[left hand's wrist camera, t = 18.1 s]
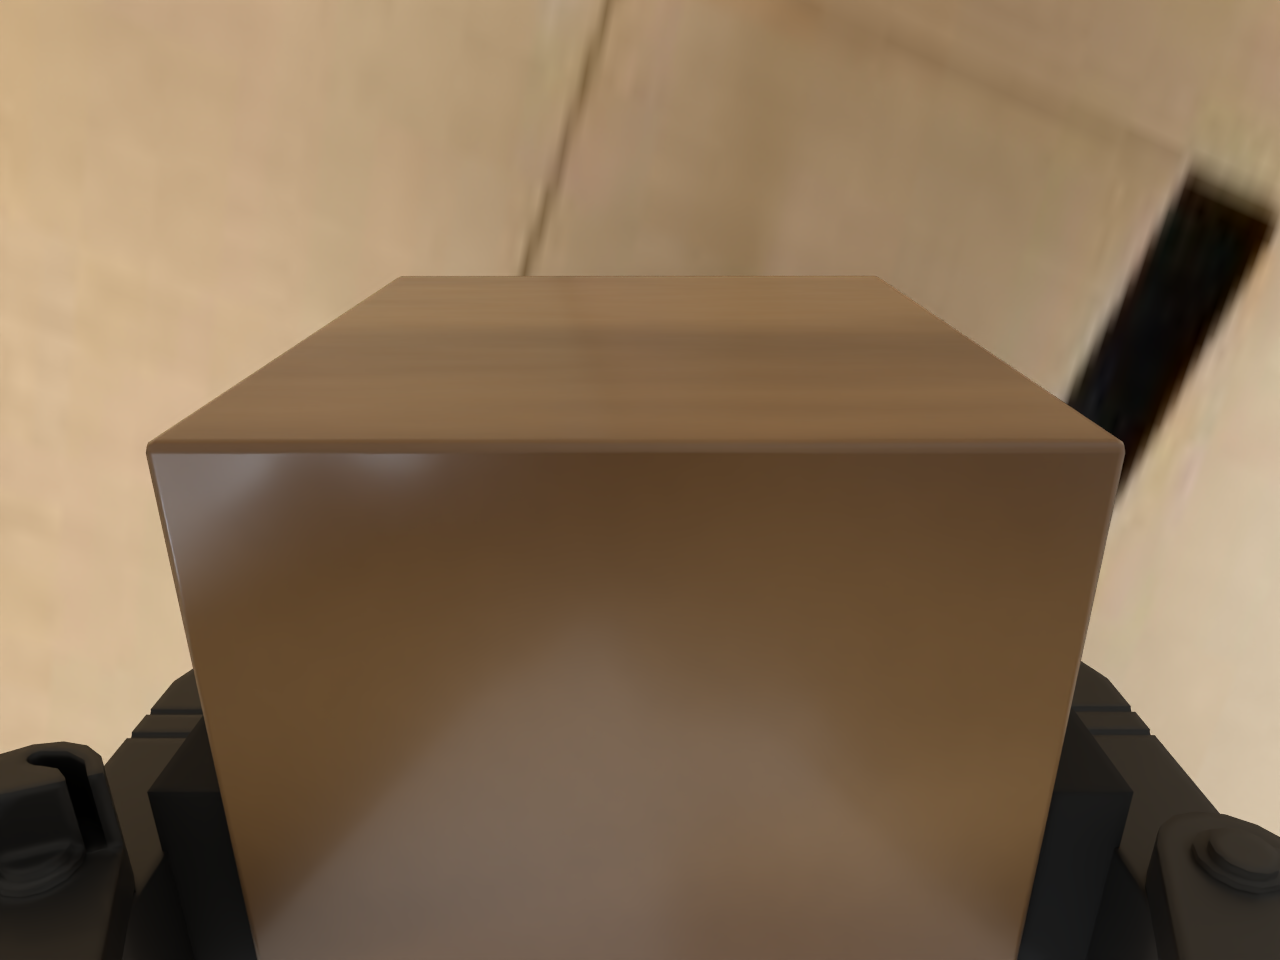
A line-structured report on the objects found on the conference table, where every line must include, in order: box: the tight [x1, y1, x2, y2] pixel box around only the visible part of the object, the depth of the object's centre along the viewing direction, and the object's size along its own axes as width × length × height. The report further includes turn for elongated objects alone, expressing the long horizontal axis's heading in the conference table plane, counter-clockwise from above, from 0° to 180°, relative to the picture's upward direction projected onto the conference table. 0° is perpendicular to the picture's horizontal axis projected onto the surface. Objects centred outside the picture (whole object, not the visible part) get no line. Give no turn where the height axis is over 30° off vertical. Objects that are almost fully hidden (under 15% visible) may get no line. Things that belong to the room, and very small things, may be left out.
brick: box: [146, 276, 1125, 960], centre depth 12 cm, size 9×7×7 cm
